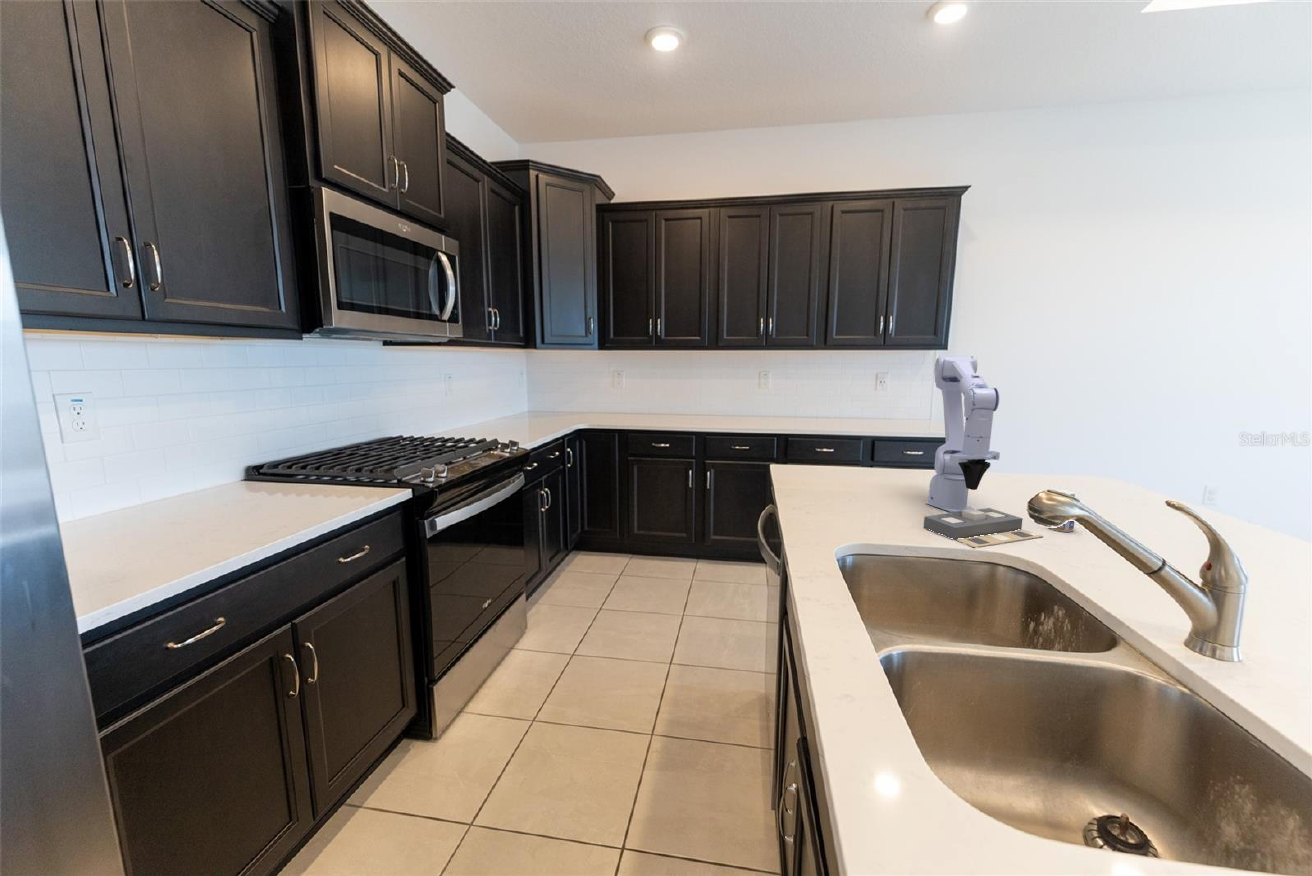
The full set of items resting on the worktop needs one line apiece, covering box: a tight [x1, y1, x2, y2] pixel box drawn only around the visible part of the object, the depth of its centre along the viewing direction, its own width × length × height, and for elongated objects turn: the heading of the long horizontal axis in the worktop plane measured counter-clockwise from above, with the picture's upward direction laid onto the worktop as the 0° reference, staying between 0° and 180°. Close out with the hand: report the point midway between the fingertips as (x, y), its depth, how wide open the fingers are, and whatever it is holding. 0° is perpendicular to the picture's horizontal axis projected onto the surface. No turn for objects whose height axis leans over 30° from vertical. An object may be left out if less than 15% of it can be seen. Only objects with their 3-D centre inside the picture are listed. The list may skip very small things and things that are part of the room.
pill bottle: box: [1050, 489, 1076, 533], centre depth 131 cm, size 5×5×10 cm
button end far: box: [986, 512, 1006, 518], centre depth 133 cm, size 4×4×3 cm
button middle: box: [962, 508, 986, 521], centre depth 131 cm, size 4×4×3 cm
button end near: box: [941, 517, 964, 524], centre depth 129 cm, size 4×4×3 cm
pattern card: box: [956, 529, 1044, 548], centre depth 124 cm, size 5×22×1 cm, turn 109°
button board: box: [923, 507, 1024, 540], centre depth 131 cm, size 9×22×3 cm, turn 109°
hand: (971, 488), depth 133 cm, fingers closed
